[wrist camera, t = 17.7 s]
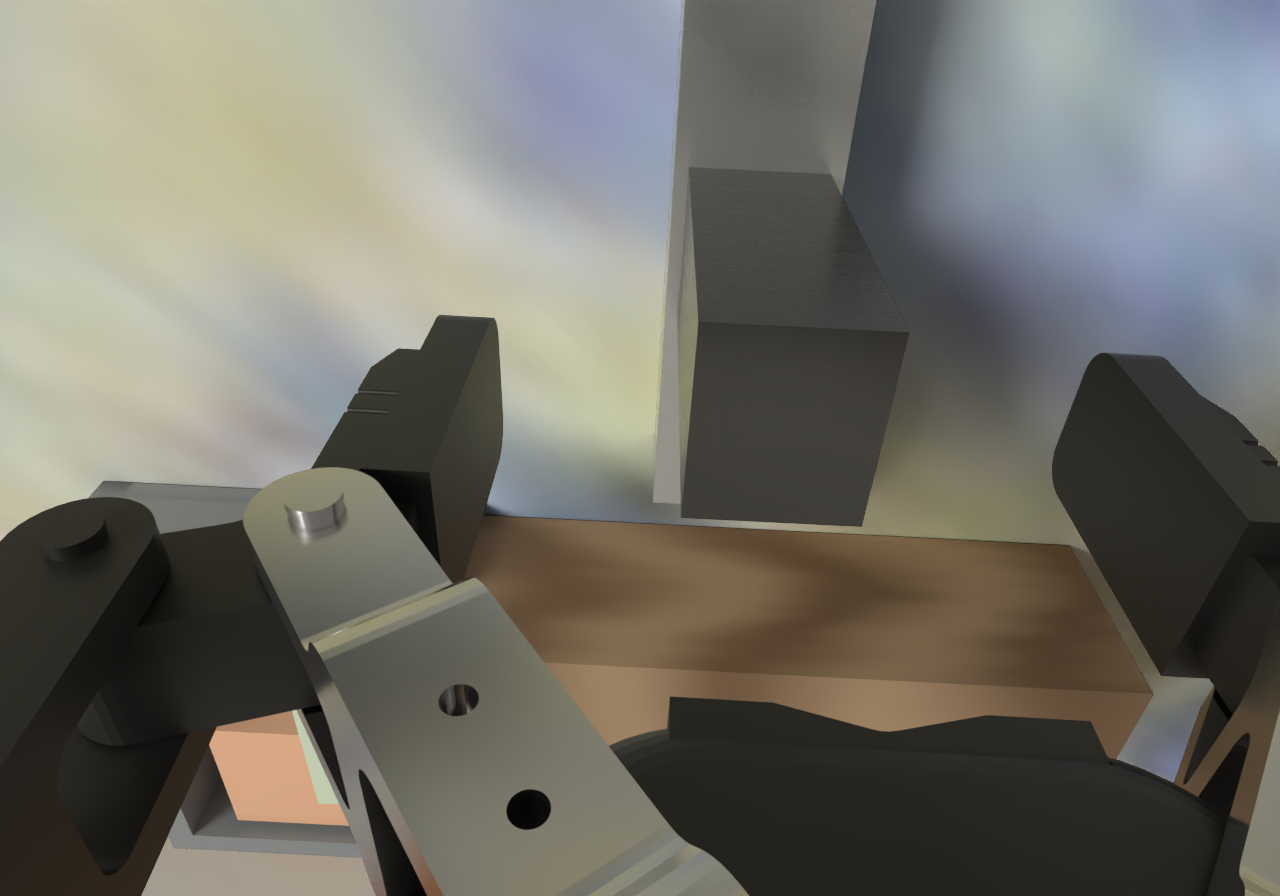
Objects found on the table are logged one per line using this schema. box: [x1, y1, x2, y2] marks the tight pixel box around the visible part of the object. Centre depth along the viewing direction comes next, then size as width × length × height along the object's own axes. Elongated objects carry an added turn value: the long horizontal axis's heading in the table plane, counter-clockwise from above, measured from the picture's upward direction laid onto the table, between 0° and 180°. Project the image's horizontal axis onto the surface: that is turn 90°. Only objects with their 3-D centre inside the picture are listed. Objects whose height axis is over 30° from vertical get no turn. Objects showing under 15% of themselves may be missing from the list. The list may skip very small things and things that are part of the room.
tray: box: [89, 481, 362, 858], centre depth 26 cm, size 10×12×3 cm
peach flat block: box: [209, 711, 349, 826], centre depth 27 cm, size 4×4×2 cm
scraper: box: [653, 0, 909, 527], centre depth 15 cm, size 3×12×9 cm, turn 178°
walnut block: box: [464, 515, 1153, 759], centre depth 25 cm, size 16×12×5 cm
